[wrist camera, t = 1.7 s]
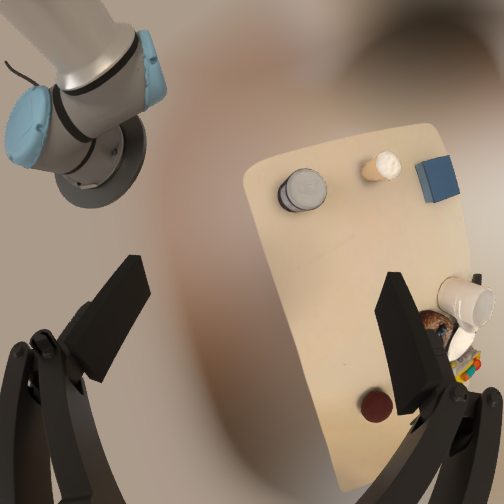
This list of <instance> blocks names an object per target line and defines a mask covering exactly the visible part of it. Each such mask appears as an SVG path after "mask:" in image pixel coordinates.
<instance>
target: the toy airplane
mask: <svg viewBox="0 0 504 504" xmlns="http://www.w3.org/2000/svg"><path fill="white" fill-rule="evenodd" d="M480 353H481V351H477V350H474V349H473V347H472V346H471V345H470V346H469V348H468V349H467V350H466V351H465V352H464V353H463V354H462V355H461V356H460V357H459V358H458V359H456V360H453V361H450V364H451V367H452V370H453V372H454V375H455V378H456V381H457V382H460V383H462V384H463V382H464V381H465V382H466V381H467V380H469V379H470V378H471V376H472V375H473V374H474V372H475V371H476V370H478V369H479V368H480V366H481V362H480V360H479V359H480Z"/></svg>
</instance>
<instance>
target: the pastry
mask: <svg viewBox="0 0 504 504" xmlns="http://www.w3.org/2000/svg"><path fill="white" fill-rule="evenodd" d="M419 314H420V316H421V319H422V321H423V324H424V326H425V329H434V330H435V331H436V333H437V334H438V335H439V336H440V338H441V340H442V343H443V345H444V346H443V347H444V348H445V347H446V345H447V342H448V340H449V338H450V335H452V331H453V327H454V325H453V324H452V323H451V321H450V320H449V319H448V318H447V317H445V316H444V315H442V314H439V313H437V312H434V311H429V310H428V311H421V312H420V313H419Z"/></svg>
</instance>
